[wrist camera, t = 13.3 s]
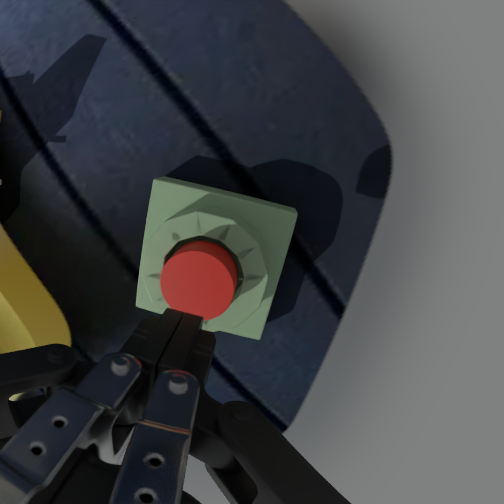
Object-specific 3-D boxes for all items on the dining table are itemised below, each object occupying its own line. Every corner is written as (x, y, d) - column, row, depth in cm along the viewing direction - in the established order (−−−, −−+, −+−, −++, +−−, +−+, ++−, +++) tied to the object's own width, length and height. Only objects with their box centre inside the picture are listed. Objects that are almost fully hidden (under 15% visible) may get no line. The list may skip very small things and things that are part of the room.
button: (245, 250, 16) (242, 261, 14) (229, 312, 17) (225, 329, 16) (176, 232, 16) (165, 241, 14) (165, 295, 17) (155, 309, 15)
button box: (296, 208, 18) (301, 221, 15) (261, 326, 21) (258, 358, 18) (163, 175, 18) (140, 181, 15) (144, 295, 21) (124, 320, 17)
